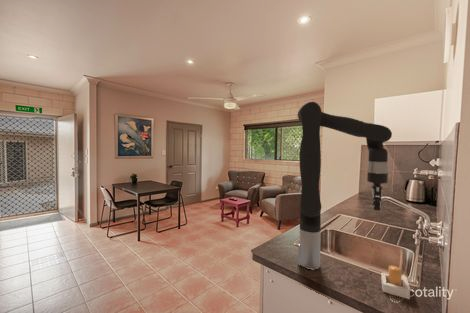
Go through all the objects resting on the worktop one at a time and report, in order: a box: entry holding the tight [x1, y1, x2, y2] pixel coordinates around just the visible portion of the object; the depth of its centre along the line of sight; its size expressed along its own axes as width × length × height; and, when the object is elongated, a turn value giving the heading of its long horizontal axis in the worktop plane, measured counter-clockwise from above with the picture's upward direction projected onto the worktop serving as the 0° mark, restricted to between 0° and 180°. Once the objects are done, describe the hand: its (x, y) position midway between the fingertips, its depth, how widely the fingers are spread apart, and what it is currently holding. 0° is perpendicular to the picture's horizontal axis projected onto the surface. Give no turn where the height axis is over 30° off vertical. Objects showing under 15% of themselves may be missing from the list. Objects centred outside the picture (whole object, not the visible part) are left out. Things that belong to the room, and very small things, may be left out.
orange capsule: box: [388, 265, 403, 286], centre depth 82 cm, size 4×4×8 cm
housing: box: [380, 272, 411, 300], centre depth 82 cm, size 8×9×4 cm
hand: (376, 207), depth 94 cm, fingers open, 8 cm apart
